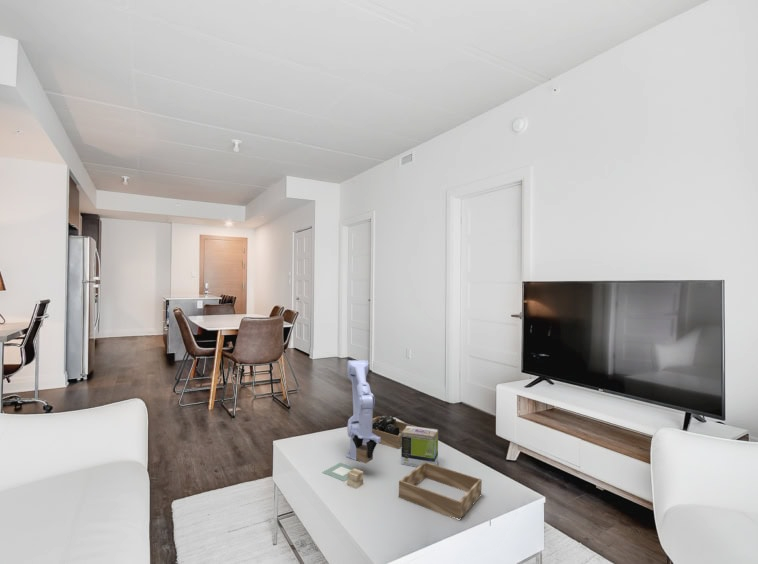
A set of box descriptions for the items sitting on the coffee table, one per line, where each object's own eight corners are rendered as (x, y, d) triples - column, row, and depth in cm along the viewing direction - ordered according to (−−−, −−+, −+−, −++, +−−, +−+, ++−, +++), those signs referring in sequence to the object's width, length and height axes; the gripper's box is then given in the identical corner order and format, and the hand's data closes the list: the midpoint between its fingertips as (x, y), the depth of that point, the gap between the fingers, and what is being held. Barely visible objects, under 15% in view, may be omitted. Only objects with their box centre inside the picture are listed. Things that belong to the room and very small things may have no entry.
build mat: (340, 462, 176) (340, 462, 176) (361, 470, 169) (361, 469, 169) (321, 472, 166) (321, 472, 166) (343, 481, 159) (343, 480, 159)
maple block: (354, 480, 160) (354, 468, 160) (363, 484, 158) (363, 471, 158) (347, 485, 157) (347, 472, 157) (356, 488, 154) (356, 476, 154)
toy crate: (424, 476, 166) (424, 461, 166) (481, 495, 152) (481, 479, 152) (398, 497, 149) (399, 481, 149) (459, 520, 135) (460, 503, 135)
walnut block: (363, 456, 171) (363, 444, 171) (372, 459, 168) (372, 447, 168) (356, 460, 166) (356, 448, 166) (365, 463, 164) (365, 451, 164)
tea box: (438, 461, 180) (438, 428, 180) (433, 470, 171) (434, 436, 171) (406, 455, 185) (407, 424, 185) (400, 464, 176) (401, 431, 176)
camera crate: (378, 426, 222) (378, 416, 222) (416, 437, 208) (416, 426, 208) (358, 436, 206) (358, 425, 206) (397, 449, 192) (398, 436, 192)
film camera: (391, 444, 196) (392, 424, 197) (369, 440, 202) (369, 420, 202) (404, 433, 212) (405, 414, 213) (383, 429, 218) (384, 411, 218)
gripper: (346, 422, 168) (345, 454, 168) (374, 430, 160) (373, 463, 160) (356, 417, 174) (355, 448, 174) (383, 425, 166) (382, 457, 166)
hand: (364, 455), depth 167 cm, fingers closed on walnut block, 5 cm apart
